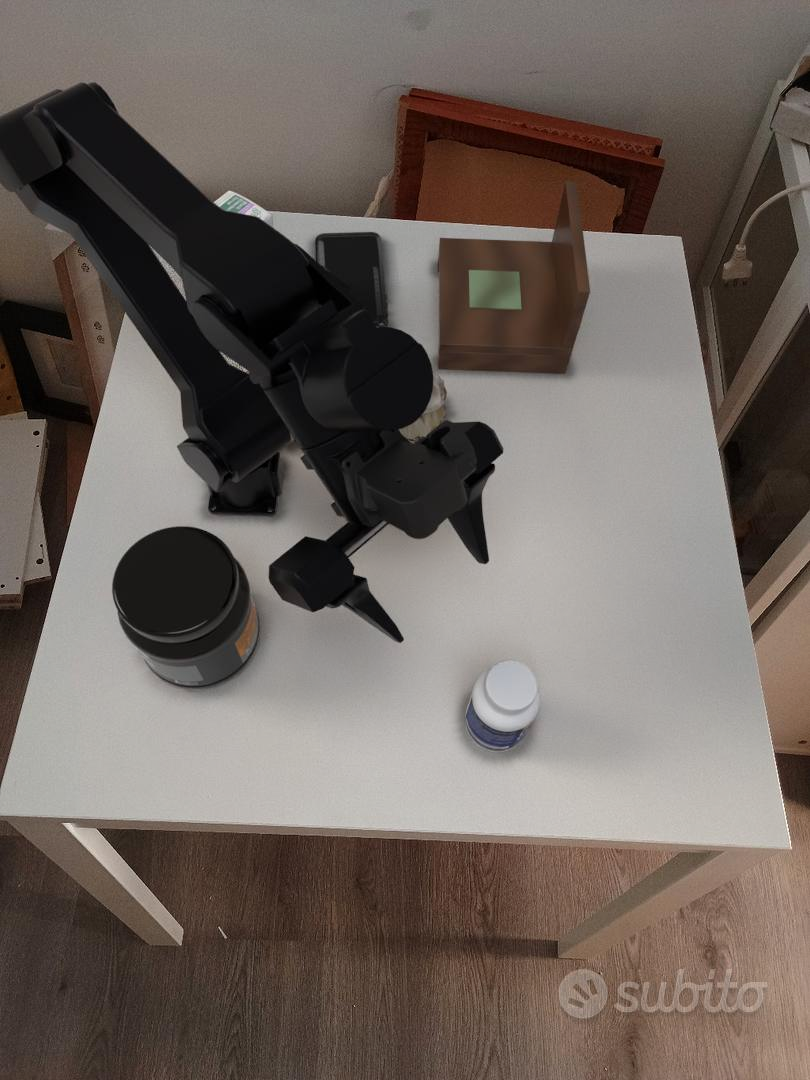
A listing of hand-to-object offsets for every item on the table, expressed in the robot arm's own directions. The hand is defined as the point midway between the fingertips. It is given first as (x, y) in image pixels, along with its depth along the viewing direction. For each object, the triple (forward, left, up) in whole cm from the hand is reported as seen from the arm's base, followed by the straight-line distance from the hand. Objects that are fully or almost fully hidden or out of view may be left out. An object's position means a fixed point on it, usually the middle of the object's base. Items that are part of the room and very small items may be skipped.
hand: (443, 600), depth 62 cm
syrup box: (-21, +40, -13) cm, 47 cm away
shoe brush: (-11, +27, -13) cm, 32 cm away
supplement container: (-21, +2, -13) cm, 25 cm away
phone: (-10, +46, -13) cm, 49 cm away
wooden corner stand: (+7, +42, -13) cm, 44 cm away
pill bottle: (+5, -5, -13) cm, 15 cm away
